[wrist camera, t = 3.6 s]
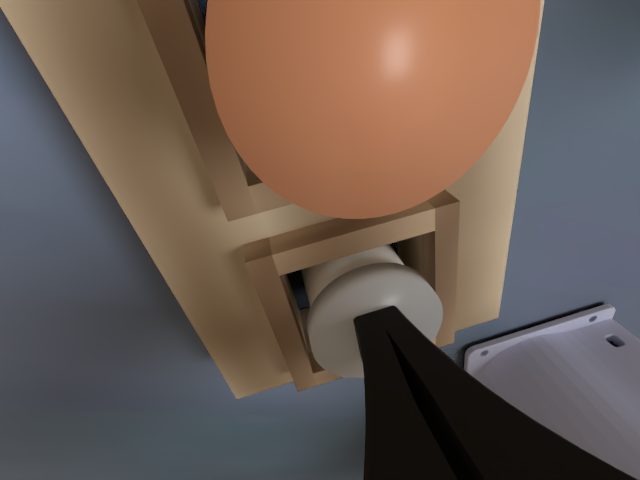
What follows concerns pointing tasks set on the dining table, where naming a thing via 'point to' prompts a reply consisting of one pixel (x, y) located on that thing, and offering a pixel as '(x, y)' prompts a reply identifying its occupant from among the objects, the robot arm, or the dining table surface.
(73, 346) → the dining table surface
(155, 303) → the dining table surface
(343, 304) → the grey plug
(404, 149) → the rust plug
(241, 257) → the socket board
